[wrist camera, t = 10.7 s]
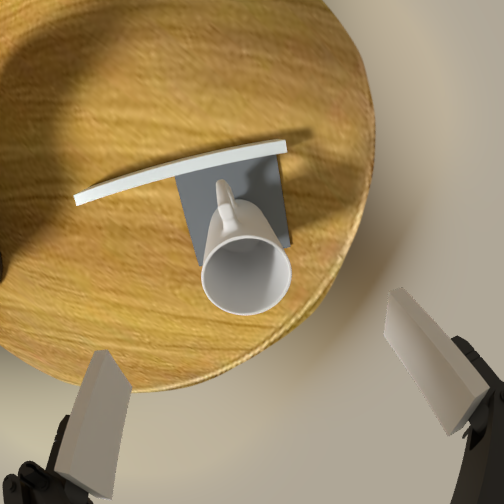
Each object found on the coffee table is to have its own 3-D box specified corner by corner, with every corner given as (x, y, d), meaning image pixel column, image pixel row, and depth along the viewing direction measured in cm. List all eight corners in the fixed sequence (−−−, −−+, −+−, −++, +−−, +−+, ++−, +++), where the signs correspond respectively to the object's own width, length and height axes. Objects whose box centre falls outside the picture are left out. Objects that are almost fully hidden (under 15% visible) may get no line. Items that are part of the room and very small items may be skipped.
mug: (273, 244, 33) (299, 301, 22) (218, 260, 34) (218, 324, 23) (251, 160, 29) (269, 178, 18) (190, 178, 29) (171, 208, 18)
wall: (91, 196, 29) (76, 205, 25) (88, 187, 28) (73, 195, 25) (279, 149, 29) (287, 152, 26) (277, 138, 29) (285, 140, 25)
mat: (199, 264, 34) (199, 266, 34) (175, 175, 29) (174, 175, 29) (289, 245, 34) (290, 246, 34) (275, 153, 30) (275, 154, 29)
